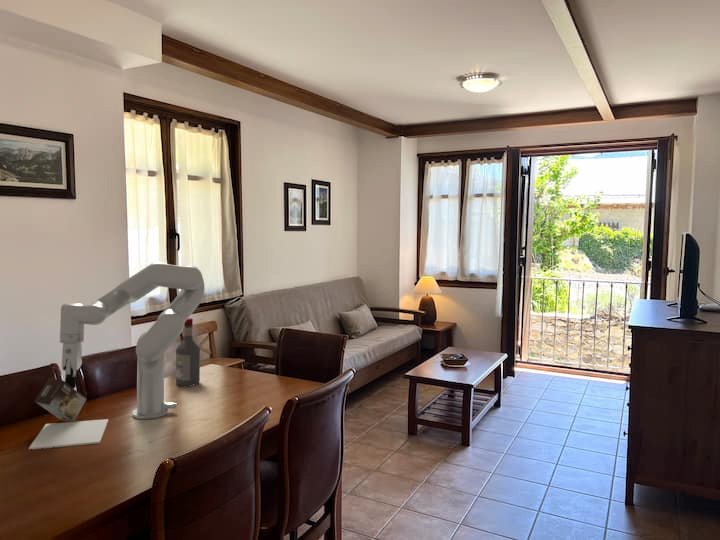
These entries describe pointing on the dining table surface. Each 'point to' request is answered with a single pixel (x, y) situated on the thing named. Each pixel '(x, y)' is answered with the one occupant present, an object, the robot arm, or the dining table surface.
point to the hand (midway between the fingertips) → (70, 387)
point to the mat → (70, 434)
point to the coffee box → (60, 399)
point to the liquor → (188, 358)
